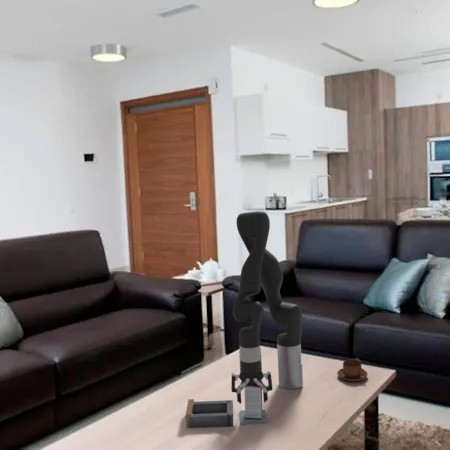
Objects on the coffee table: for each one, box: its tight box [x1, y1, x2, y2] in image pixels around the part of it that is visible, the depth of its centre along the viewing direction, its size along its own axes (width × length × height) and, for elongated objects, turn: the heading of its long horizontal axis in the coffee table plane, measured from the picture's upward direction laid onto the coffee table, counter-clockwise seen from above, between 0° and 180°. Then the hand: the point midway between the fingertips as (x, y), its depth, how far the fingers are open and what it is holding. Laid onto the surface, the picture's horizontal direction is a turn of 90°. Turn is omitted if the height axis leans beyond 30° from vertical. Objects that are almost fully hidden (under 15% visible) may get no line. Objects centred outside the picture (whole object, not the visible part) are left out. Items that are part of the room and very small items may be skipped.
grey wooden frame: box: [185, 398, 234, 429], centre depth 184 cm, size 16×12×5 cm
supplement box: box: [243, 385, 263, 420], centre depth 184 cm, size 6×6×12 cm
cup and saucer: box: [337, 359, 369, 382], centre depth 214 cm, size 12×12×6 cm
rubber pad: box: [239, 408, 268, 425], centre depth 184 cm, size 9×9×1 cm
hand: (252, 402), depth 184 cm, fingers open, 8 cm apart
